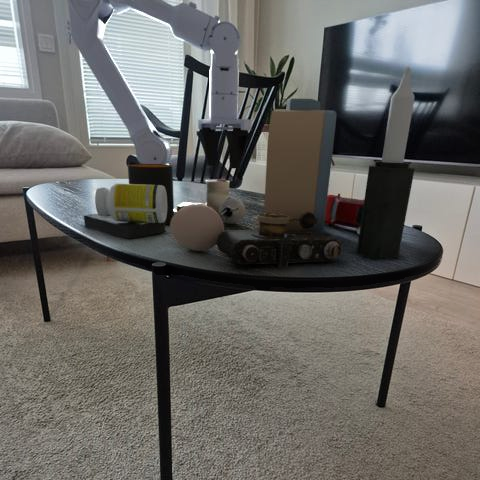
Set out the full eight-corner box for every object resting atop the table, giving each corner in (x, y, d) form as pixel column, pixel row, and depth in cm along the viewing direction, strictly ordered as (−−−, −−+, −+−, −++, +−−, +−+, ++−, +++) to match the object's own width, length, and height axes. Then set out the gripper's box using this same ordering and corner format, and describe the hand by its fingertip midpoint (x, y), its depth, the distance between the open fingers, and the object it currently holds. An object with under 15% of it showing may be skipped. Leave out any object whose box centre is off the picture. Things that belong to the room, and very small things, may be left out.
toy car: (328, 192, 87) (312, 189, 84) (390, 200, 77) (375, 197, 74) (322, 224, 89) (306, 222, 86) (381, 235, 79) (366, 234, 76)
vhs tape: (166, 232, 74) (166, 220, 73) (128, 239, 69) (127, 226, 68) (122, 220, 83) (121, 210, 82) (85, 226, 78) (83, 215, 77)
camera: (321, 210, 64) (351, 218, 57) (316, 253, 66) (344, 266, 59) (217, 209, 58) (236, 218, 51) (216, 256, 61) (234, 271, 54)
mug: (185, 215, 90) (183, 163, 85) (165, 226, 79) (163, 167, 75) (148, 213, 91) (145, 162, 87) (124, 223, 80) (119, 165, 76)
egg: (199, 256, 58) (159, 248, 65) (234, 252, 63) (193, 245, 70) (199, 205, 56) (157, 202, 63) (235, 205, 61) (193, 202, 68)
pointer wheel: (201, 205, 88) (201, 178, 86) (218, 203, 91) (218, 177, 89) (216, 208, 85) (216, 180, 83) (233, 206, 88) (234, 179, 86)
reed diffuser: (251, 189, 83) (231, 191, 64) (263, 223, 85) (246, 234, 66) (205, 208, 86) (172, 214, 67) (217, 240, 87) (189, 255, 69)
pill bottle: (166, 180, 72) (101, 177, 71) (161, 191, 67) (90, 188, 66) (168, 216, 75) (106, 213, 75) (163, 228, 70) (96, 226, 70)
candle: (353, 251, 66) (379, 68, 56) (381, 250, 68) (411, 71, 58) (372, 260, 62) (404, 62, 52) (401, 258, 63) (437, 66, 53)
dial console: (175, 219, 86) (174, 206, 85) (185, 212, 94) (185, 200, 93) (235, 222, 85) (235, 209, 84) (240, 215, 93) (241, 203, 92)
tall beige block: (321, 250, 66) (338, 95, 58) (262, 245, 68) (270, 94, 59) (324, 225, 85) (337, 106, 76) (277, 222, 87) (285, 105, 78)
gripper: (263, 95, 82) (260, 169, 88) (216, 98, 92) (215, 164, 97) (237, 92, 78) (235, 169, 83) (190, 95, 87) (191, 164, 93)
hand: (223, 167), depth 90 cm, fingers open, 7 cm apart
